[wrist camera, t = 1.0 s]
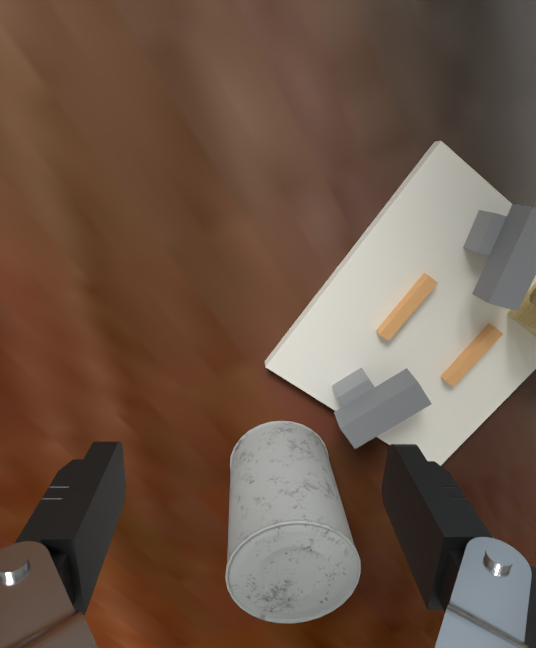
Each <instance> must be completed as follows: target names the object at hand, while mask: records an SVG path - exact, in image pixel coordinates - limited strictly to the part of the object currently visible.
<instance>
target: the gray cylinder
mask: <svg viewBox="0 0 536 648" xmlns="http://www.w3.org/2000/svg"><path fill="white" fill-rule="evenodd" d="M230 469H231V477H230V503H229V530H228V556H227V567H226V575H225V579H226V584H227V589H228V591H229V593H230V595H231V597H232V599H233V600H234V601H235V602H236V603H237V605H238V606H239V607H240V608H241V609H243V610H244V611H246V612H247V613H249V614H250V615H252V616H254V617H257V618H259V619H262V620H265V621H270V622H275V623H300V622H307V621H310V620H313V619H317V618H320V617H322V616H324V615H326V614H328V613H331V612H333V611H334V610H335V609H337V608H338V607H339V606H341V605H342V604H343V603H344V602H345V601H346V600H347V599H348V598H349V597H350V596H351V595H352V593H353V592H354V590H355V588H356V586H357V584H358V581H359V577H360V574H361V562H360V558H359V555H358V552H357V549H356V547H355V546H354V542H353V539H352V535H351V532H350V529H349V525H348V522H347V519H346V515H345V512H344V509H343V505H342V502H341V498H340V495H339V492H338V488H337V485H336V482H335V478H334V475H333V471H332V468H331V465H330V461H329V456H328V451H327V449H326V446H325V444H324V442H323V441H322V439H321V438H320V436H319V435H318V434H316V433H315V432H314V431H313V430H312V429H310V428H308V427H306V426H304V425H303V424H299V423H296V422H292V421H273V422H267V423H264V424H261V425H258V426H256V427H255V428H253V429H251V430H249V431H248V432H247V433H246V434H245V435H243V436H242V437H241V438H240V440H239V441H238V442H237V444H236V445H235V447H234V449H233V452H232V454H231V460H230Z"/></svg>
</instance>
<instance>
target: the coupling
mask: <svg viewBox="0 0 536 648" xmlns="http://www.w3.org/2000/svg"><path fill="white" fill-rule="evenodd" d="M507 314H508V315H509V316H510V317H511V318H513V319H514V320H515V321H516V322H518V323H519V324H520V325H521V326H523V327H524V328H525V329H526V330H528V331H529V332H530V333H531V334H533V335H534V336H535V337H536V283H535V284H534V285H533V286H532V287H531V289H530V290H529V291H528V292H527V294H526V296H525V298H524V300H523V302H522V304H521V306H520V308H519V310H518V311H515V310H510V311H509V312H508V313H507Z"/></svg>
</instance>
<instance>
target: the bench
mask: <svg viewBox="0 0 536 648" xmlns="http://www.w3.org/2000/svg"><path fill="white" fill-rule="evenodd" d="M535 283H536V207H534V206H526V205H519V204H512V203H510V202H509V201H508V200H507V199H506V198H505V197H504V196H503V195H501V194H500V193H499V192H498V191H497V190H496V189H495V188H494V187H492V186H491V185H490V184H489V183H488V182H487V181H486V180H485V179H483V178H482V177H481V176H480V175H479V174H478V173H477V172H476V171H475V170H473V169H472V168H471V167H470V166H469V165H468V164H467V163H466V162H464V161H463V160H462V159H461V158H460V157H459V156H458V155H457V154H455V153H454V152H453V151H452V150H451V149H450V148H449V147H448V146H447V145H445V144H444V143H443V142H442V141H436V142H434V143H433V144H432V145H431V147H430V148H429V149H428V151H427V152H426V153H425V154H424V156H423V157H422V158H421V160H420V161H419V162H418V163H417V165H416V166H415V167H414V169H413V170H412V171H411V173H410V174H409V175H408V176H407V178H406V179H405V180H404V182H403V183H402V184H401V185H400V187H399V188H398V189H397V191H396V192H395V193H394V195H393V196H392V197H391V198H390V200H389V201H388V202H387V204H386V205H385V206H384V207H383V209H382V210H381V211H380V213H379V214H378V215H377V217H376V218H375V219H374V220H373V222H372V223H371V224H370V226H369V227H368V228H367V229H366V231H365V232H364V233H363V235H362V236H361V237H360V239H359V240H358V241H357V242H356V244H355V245H354V246H353V248H352V249H351V250H350V251H349V253H348V254H347V255H346V257H345V258H344V259H343V261H342V262H341V263H340V264H339V266H338V267H337V268H336V270H335V271H334V272H333V273H332V275H331V276H330V277H329V279H328V280H327V281H326V283H325V284H324V285H323V286H322V288H321V289H320V290H319V292H318V293H317V294H316V295H315V297H314V298H313V299H312V301H311V302H310V303H309V305H308V306H307V307H306V308H305V310H304V311H303V312H302V314H301V315H300V316H299V317H298V319H297V320H296V321H295V323H294V324H293V325H292V327H291V328H290V329H289V330H288V332H287V333H286V334H285V336H284V337H283V338H282V339H281V341H280V342H279V343H278V345H277V346H276V347H275V349H274V350H273V351H272V352H271V354H270V355H269V356H268V358H267V359H266V360H265V367H266V368H268V369H269V370H271V371H273V372H274V373H276V374H277V375H279V376H281V377H282V378H284V379H285V380H287V381H288V382H290V383H292V384H293V385H295V386H296V387H298V388H300V389H301V390H303V391H304V392H306V393H308V394H309V395H311V396H312V397H314V398H315V399H317V400H319V401H320V402H322V403H323V404H325V405H327V406H328V407H330V408H331V409H333V410H335V412H334V414H335V417H336V419H337V422H338V425H339V427H340V429H341V431H342V432H343V433H344V435H345V436H346V437H347V439H348V440H349V442H350V443H351V444H352V446H353V447H354V448H355V449H356V448H358V447H360V446H361V445H363V444H365V443H366V442H368V441H370V440H371V439H373V438H375V437H377V438H379V439H381V440H382V441H384V442H385V443H387V444H389V445H391V444H416V445H417V446H418V447H419V448H420V450H421V452H422V453H423V455H424V456H425V458H426V460H427V461H435V462H436V463H438V464H439V465H440V466H441V465H442V464H443V463H444V462H445V461H446V460H447V459H448V458H449V457H450V456H451V455H452V454H453V453H454V452H455V451H456V450H457V449H458V448H459V447H460V445H461V444H462V443H463V442H464V441H465V440H466V439H467V438H468V437H469V436H470V435H471V434H472V433H473V432H474V431H475V430H476V429H477V428H478V427H479V426H480V425H481V424H482V423H483V422H484V421H485V420H486V419H487V418H488V417H489V416H490V415H491V414H492V413H493V412H494V411H495V410H496V409H497V408H498V407H499V406H500V405H501V404H502V403H503V402H504V401H505V400H506V399H507V398H508V397H509V396H510V395H511V394H512V393H513V391H514V390H515V389H516V388H517V387H518V386H519V385H520V384H521V383H522V382H523V381H524V380H525V379H526V378H527V377H528V376H529V375H530V374H531V373H532V372H533V371H534V370H535V369H536V337H535V336H534V335H533V334H531V333H530V332H529V331H528V330H526V329H525V328H524V327H523V326H521V325H520V324H519V323H518V322H516V321H515V320H514V319H513V318H511V317H510V316H509V315H508V314H507V313H508V312H509V311H510V310H515V311H518V310H519V308H520V306H521V304H522V302H523V300H524V298H525V296H526V294H527V292H528V291H529V290H530V289H531V287H532V286H533V285H534V284H535Z"/></svg>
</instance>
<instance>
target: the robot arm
mask: <svg viewBox="0 0 536 648" xmlns="http://www.w3.org/2000/svg"><path fill="white" fill-rule="evenodd" d="M125 491H126V483H125V471H124V459H123V448H122V443H121V442H93V443H92V445H91V447H90V449H89V451H88V452H87V454H86V456H85V458H84V460H72V461H71V462H69V463H68V464H67V465H66V466H64V467H63V468H62V469H61V470H59V471H58V473H57V474H56V476H55V478H54V479H53V481H52V483H51V484H50V488H48V489H47V491H46V493H45V494H44V496H43V499H42V500H41V501H40V502H39V504H38V506H37V507H36V509H35V511H34V512H33V514H32V516H31V517H30V519H29V521H28V522H27V524H26V526H25V527H24V529H23V531H22V532H21V534H20V535H19V537H18V539H17V540H16V542H15V544H12V545H9V546H7V547H5V548H3V549H1V550H0V648H98V647H97V644H96V642H95V640H94V638H93V636H92V633H91V631H90V629H89V627H88V625H87V622H86V620H85V618H84V616H83V615H85V613H86V610H87V607H88V605H89V602H90V599H91V596H92V593H93V590H94V588H95V585H96V582H97V579H98V576H99V573H100V571H101V568H102V565H103V562H104V559H105V556H106V553H107V551H108V548H109V545H110V542H111V539H112V536H113V534H114V531H115V528H116V525H117V522H118V519H119V517H120V514H121V511H122V508H123V504H124V500H125ZM382 497H383V503H384V506H385V509H386V511H387V514H388V516H389V518H390V521H391V523H392V526H393V528H394V531H395V533H396V535H397V538H398V540H399V543H400V545H401V547H402V550H403V552H404V555H405V557H406V559H407V562H408V564H409V567H410V569H411V571H412V574H413V576H414V579H415V581H416V583H417V586H418V588H419V591H420V593H421V595H422V598H423V600H424V603H425V605H426V607H427V609H443V610H444V612H445V616H444V619H443V622H442V626H441V629H440V632H439V635H438V639H437V642H436V645H435V648H536V568H534V567H531V566H529V564H528V562H527V561H526V559H525V558H524V557H523V556H522V555H521V554H520V553H519V552H518V551H517V550H515V549H514V548H513V547H511V546H510V545H508V544H506V543H504V542H502V541H500V540H497V539H494V538H493V537H492V536H491V534H490V533H489V531H488V530H487V528H486V527H485V525H484V524H483V522H482V521H481V519H480V518H479V516H478V515H477V513H476V512H475V510H474V509H473V507H472V506H471V504H470V503H469V502H468V500H466V499H465V496H464V494H463V493H462V491H461V490H460V489H458V485H457V484H456V482H455V481H454V479H453V478H452V476H451V475H450V473H449V472H448V471H446V470H445V469H444V468H443V467H441V466H440V465H439V464H438V463H436V462H435V461H427V460H426V458H425V456H424V455H423V453H422V452H421V450H420V448H419V447H418V446H417V445H416V444H391V445H390V446H389V448H388V453H387V459H386V465H385V471H384V477H383V484H382Z"/></svg>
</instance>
